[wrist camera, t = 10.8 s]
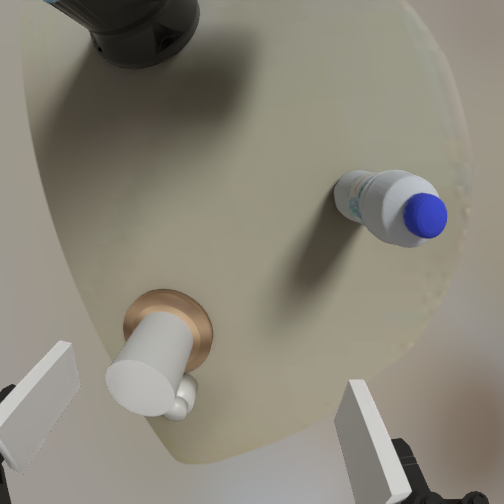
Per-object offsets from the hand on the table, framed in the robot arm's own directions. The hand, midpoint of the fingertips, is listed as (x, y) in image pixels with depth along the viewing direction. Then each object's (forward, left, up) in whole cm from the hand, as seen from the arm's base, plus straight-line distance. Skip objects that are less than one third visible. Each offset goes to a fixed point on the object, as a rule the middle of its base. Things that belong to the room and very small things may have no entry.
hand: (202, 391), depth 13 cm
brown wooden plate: (+14, -9, -29) cm, 33 cm away
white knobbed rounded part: (+24, -7, -29) cm, 38 cm away
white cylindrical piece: (+14, -9, -27) cm, 31 cm away
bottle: (-8, +14, -29) cm, 33 cm away
